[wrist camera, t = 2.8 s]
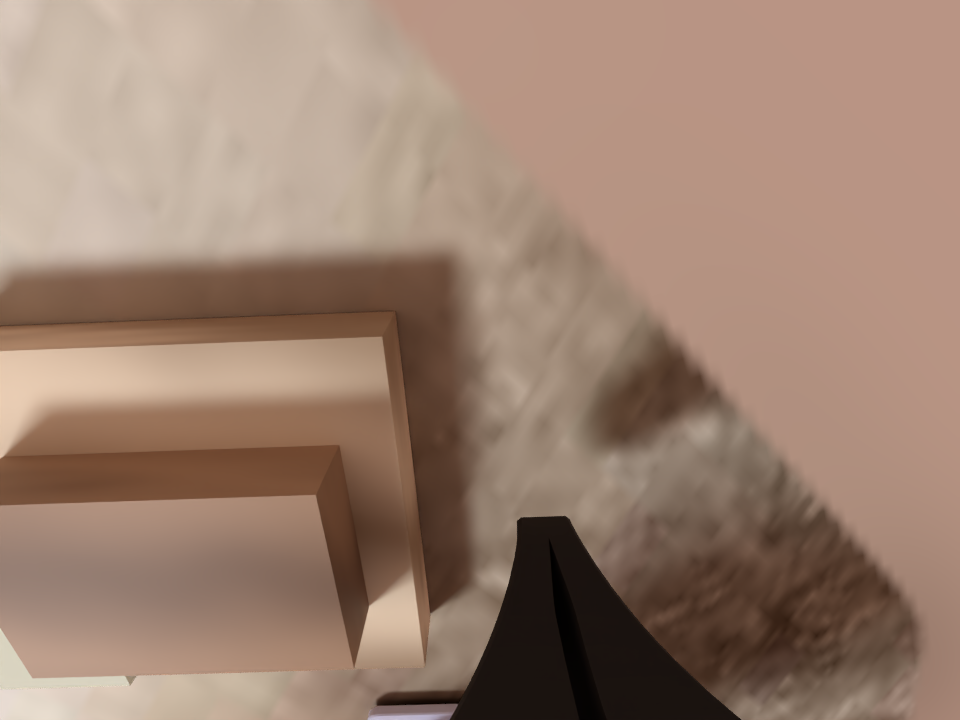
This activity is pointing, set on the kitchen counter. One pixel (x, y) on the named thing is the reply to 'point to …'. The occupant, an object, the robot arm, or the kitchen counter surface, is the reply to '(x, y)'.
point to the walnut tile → (180, 562)
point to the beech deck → (242, 421)
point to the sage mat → (10, 673)
